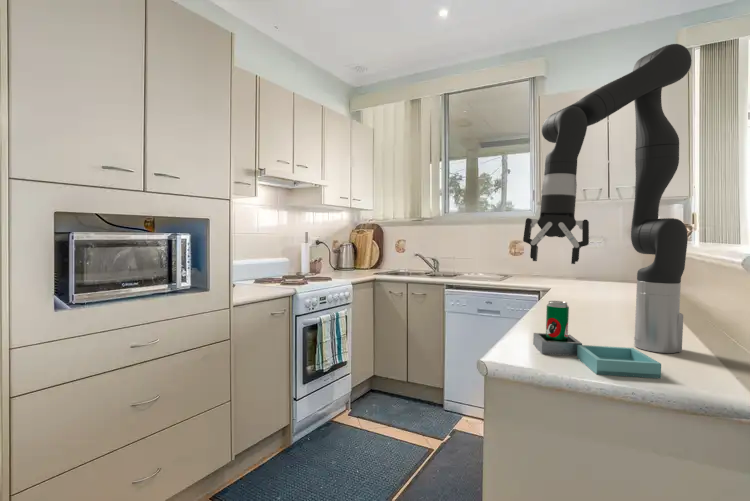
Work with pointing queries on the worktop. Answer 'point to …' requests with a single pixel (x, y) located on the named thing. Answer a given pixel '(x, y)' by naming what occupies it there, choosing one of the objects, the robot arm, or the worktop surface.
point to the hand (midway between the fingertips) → (553, 262)
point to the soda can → (557, 321)
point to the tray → (618, 361)
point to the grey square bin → (555, 345)
